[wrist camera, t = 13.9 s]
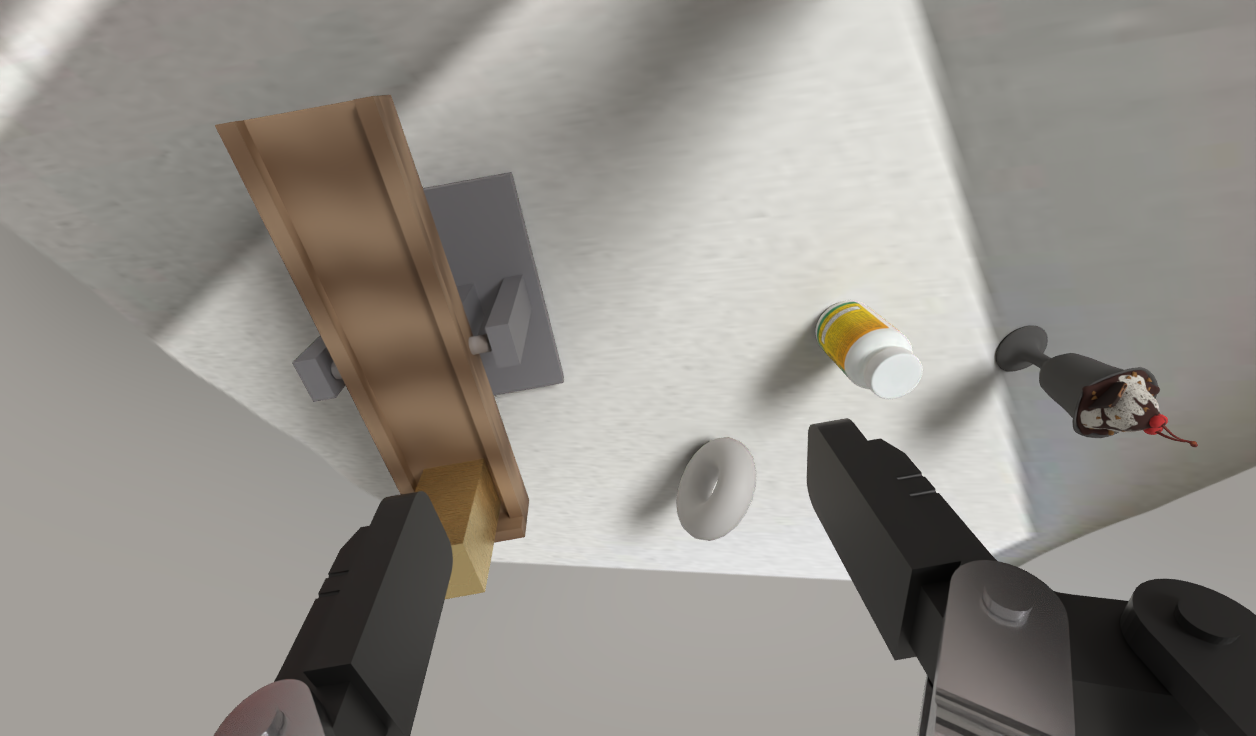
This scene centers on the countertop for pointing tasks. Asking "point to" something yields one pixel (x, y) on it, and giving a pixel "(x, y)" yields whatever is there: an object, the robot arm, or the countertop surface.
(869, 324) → the supplement bottle
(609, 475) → the countertop surface
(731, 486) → the donut
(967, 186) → the countertop surface
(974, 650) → the robot arm
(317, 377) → the pivot stand
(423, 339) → the beam
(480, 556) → the rider
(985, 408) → the countertop surface
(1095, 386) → the sundae
